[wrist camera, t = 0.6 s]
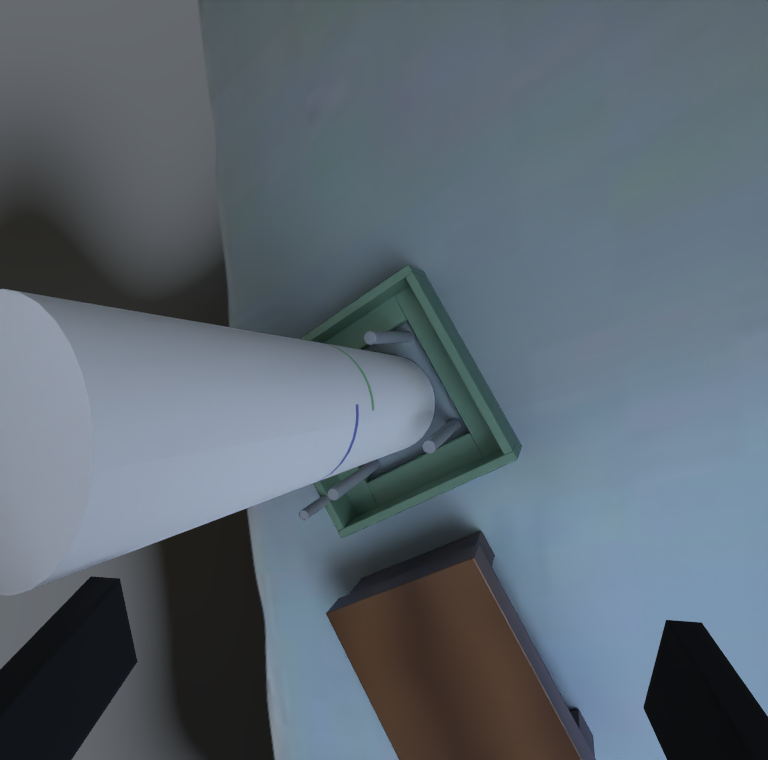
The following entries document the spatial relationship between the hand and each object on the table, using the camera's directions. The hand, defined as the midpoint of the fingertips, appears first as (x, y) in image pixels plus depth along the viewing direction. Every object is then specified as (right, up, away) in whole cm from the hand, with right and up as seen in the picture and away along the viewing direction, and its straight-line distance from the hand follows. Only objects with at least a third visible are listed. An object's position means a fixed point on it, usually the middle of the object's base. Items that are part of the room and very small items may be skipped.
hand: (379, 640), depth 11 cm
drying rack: (+1, +5, +23) cm, 23 cm away
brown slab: (+6, -14, +23) cm, 27 cm away
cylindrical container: (+1, +5, +23) cm, 23 cm away
